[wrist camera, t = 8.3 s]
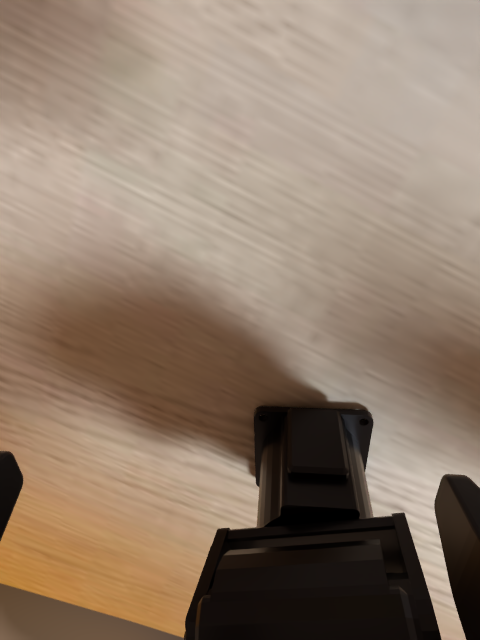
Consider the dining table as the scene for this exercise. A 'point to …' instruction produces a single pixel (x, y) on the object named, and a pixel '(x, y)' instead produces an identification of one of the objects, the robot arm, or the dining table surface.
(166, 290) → the dining table surface
